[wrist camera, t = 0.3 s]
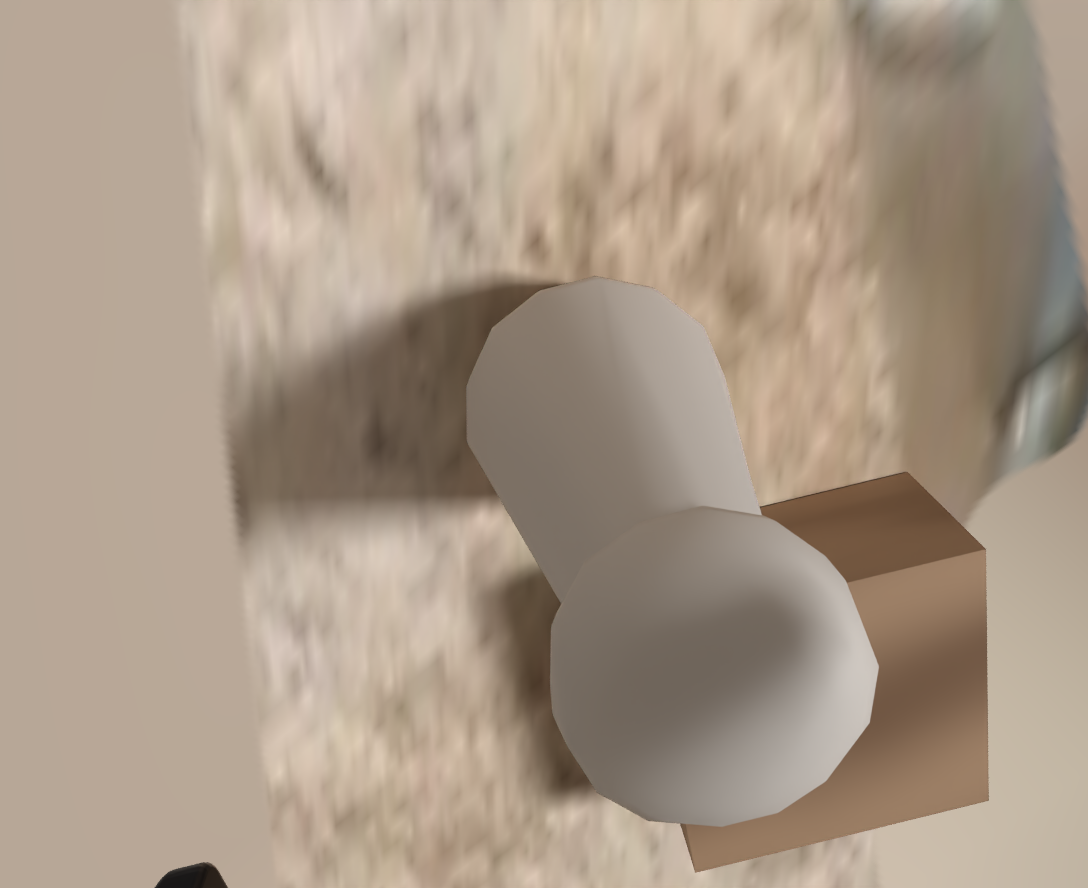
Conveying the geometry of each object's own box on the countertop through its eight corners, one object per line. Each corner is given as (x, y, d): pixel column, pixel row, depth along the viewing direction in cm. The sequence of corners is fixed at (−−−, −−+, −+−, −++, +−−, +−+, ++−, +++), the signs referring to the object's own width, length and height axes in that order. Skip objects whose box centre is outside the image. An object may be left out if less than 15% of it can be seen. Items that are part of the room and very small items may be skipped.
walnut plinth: (919, 701, 29) (988, 800, 26) (661, 764, 29) (695, 872, 26) (907, 472, 26) (985, 549, 22) (615, 542, 26) (647, 630, 22)
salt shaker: (558, 517, 25) (674, 967, 14) (410, 360, 23) (397, 736, 11) (742, 380, 24) (1038, 739, 13) (605, 200, 22) (811, 434, 10)
